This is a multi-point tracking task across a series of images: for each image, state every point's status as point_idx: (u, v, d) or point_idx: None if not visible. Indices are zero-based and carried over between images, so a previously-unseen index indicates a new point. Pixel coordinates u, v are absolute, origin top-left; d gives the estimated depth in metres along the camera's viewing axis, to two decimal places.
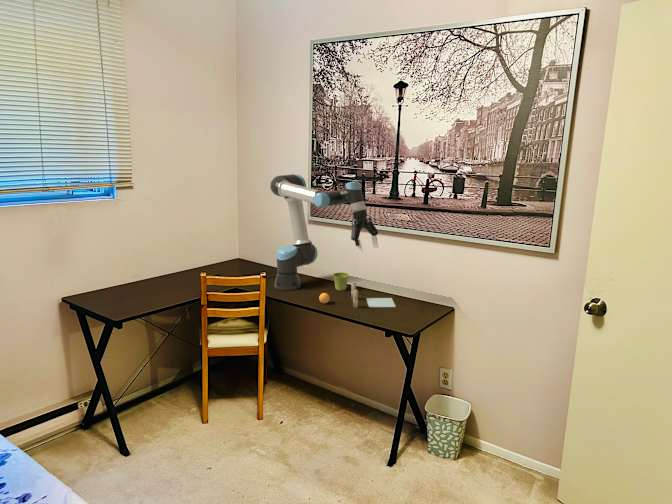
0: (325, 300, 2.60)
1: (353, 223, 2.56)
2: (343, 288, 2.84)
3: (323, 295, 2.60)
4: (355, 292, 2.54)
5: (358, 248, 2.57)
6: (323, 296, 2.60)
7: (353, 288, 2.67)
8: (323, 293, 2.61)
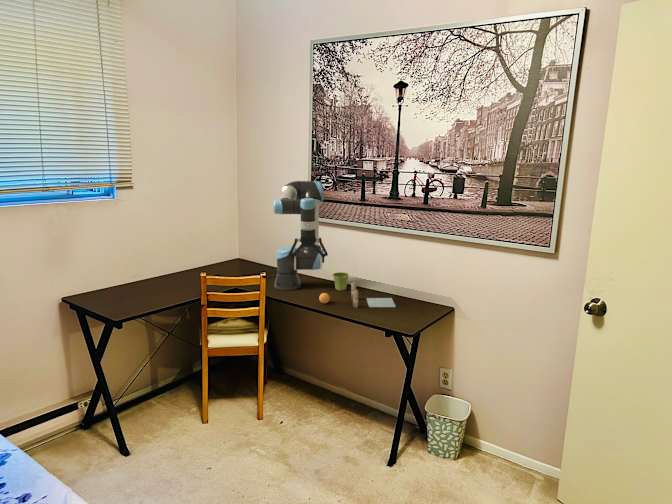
0: (325, 300, 2.60)
1: None
2: (343, 288, 2.84)
3: (323, 295, 2.60)
4: (355, 292, 2.54)
5: (294, 265, 2.57)
6: (323, 296, 2.60)
7: (353, 288, 2.67)
8: (323, 293, 2.61)
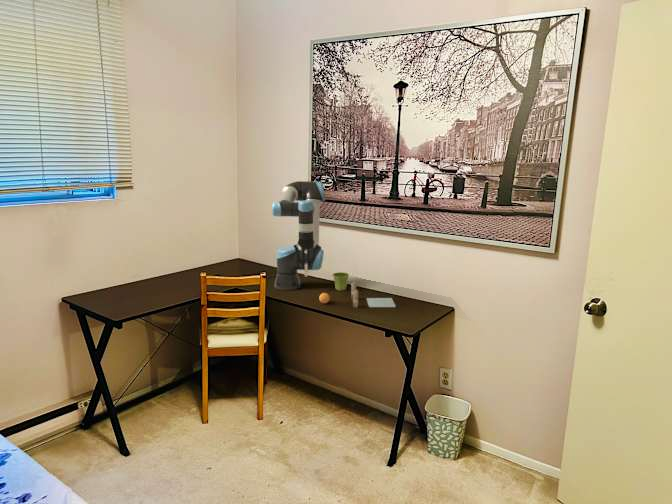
0: (325, 300, 2.60)
1: None
2: (343, 288, 2.84)
3: (323, 295, 2.60)
4: (355, 292, 2.54)
5: None
6: (323, 296, 2.60)
7: (353, 288, 2.67)
8: (323, 293, 2.61)
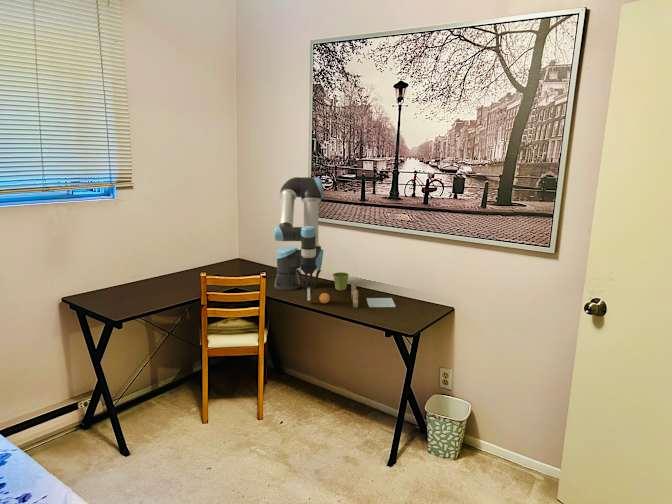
0: (325, 300, 2.60)
1: None
2: (343, 288, 2.84)
3: (323, 295, 2.60)
4: (355, 292, 2.54)
5: (307, 295, 2.62)
6: (323, 296, 2.60)
7: (353, 288, 2.67)
8: (323, 293, 2.61)
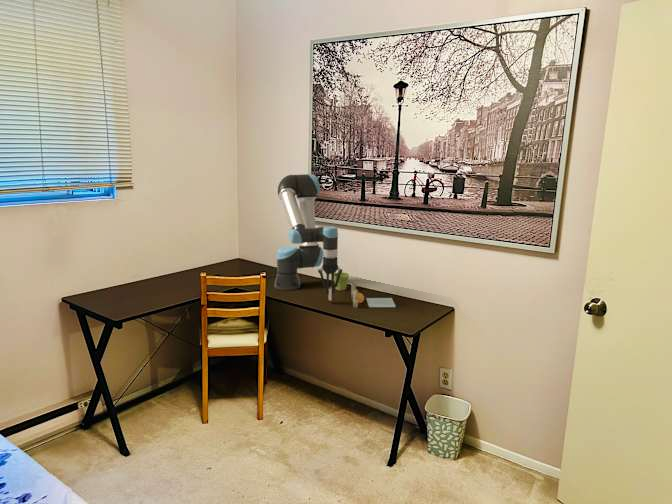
0: (360, 300, 2.60)
1: (319, 272, 2.59)
2: (343, 288, 2.84)
3: (358, 295, 2.61)
4: (355, 292, 2.54)
5: None
6: (358, 296, 2.60)
7: (353, 288, 2.67)
8: (358, 293, 2.62)
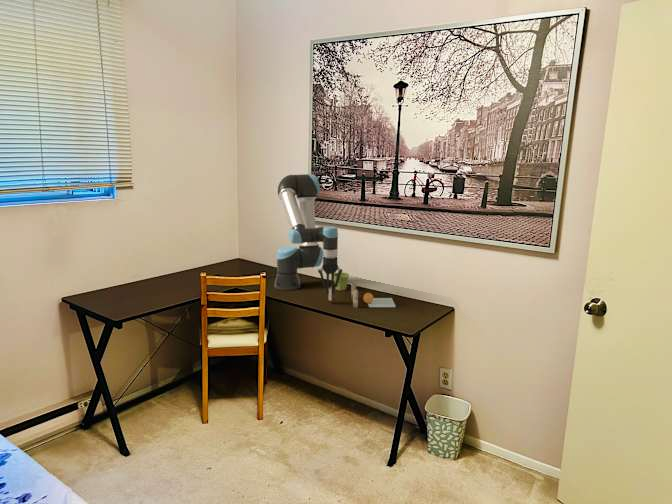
0: (367, 300, 2.61)
1: (319, 272, 2.59)
2: (343, 288, 2.84)
3: (372, 299, 2.61)
4: (355, 292, 2.54)
5: None
6: (371, 299, 2.61)
7: (353, 288, 2.67)
8: None
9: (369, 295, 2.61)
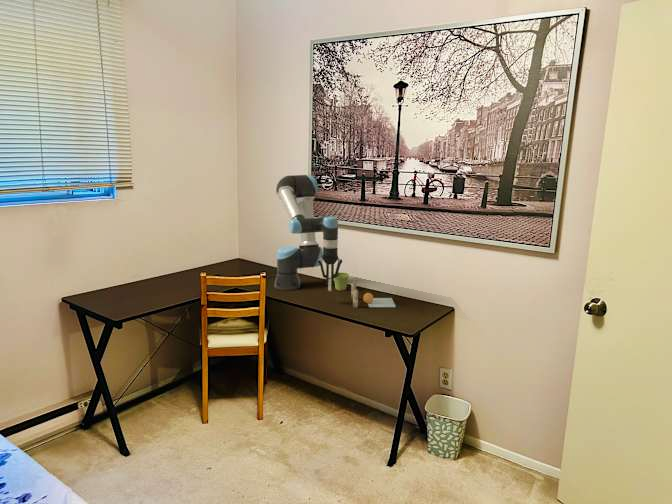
0: (367, 300, 2.61)
1: (318, 262, 2.58)
2: (343, 288, 2.84)
3: (372, 299, 2.61)
4: (355, 292, 2.54)
5: (328, 286, 2.62)
6: (371, 299, 2.61)
7: (353, 288, 2.67)
8: None
9: (369, 295, 2.61)
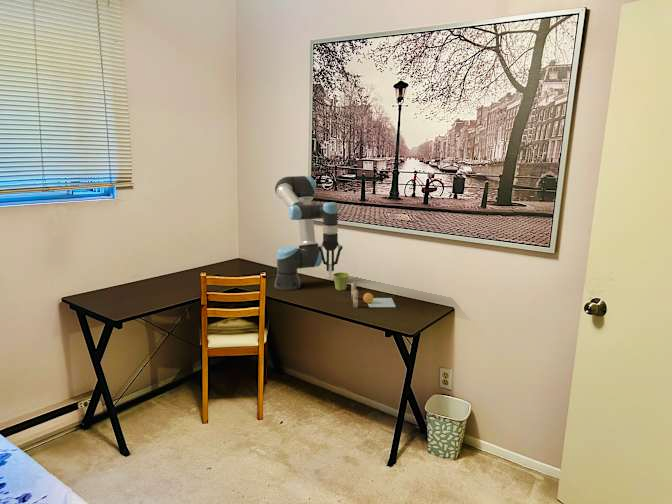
0: (367, 300, 2.61)
1: (319, 248, 2.56)
2: (343, 288, 2.84)
3: (372, 299, 2.61)
4: (355, 292, 2.54)
5: None
6: (371, 299, 2.61)
7: (353, 288, 2.67)
8: None
9: (369, 295, 2.61)
